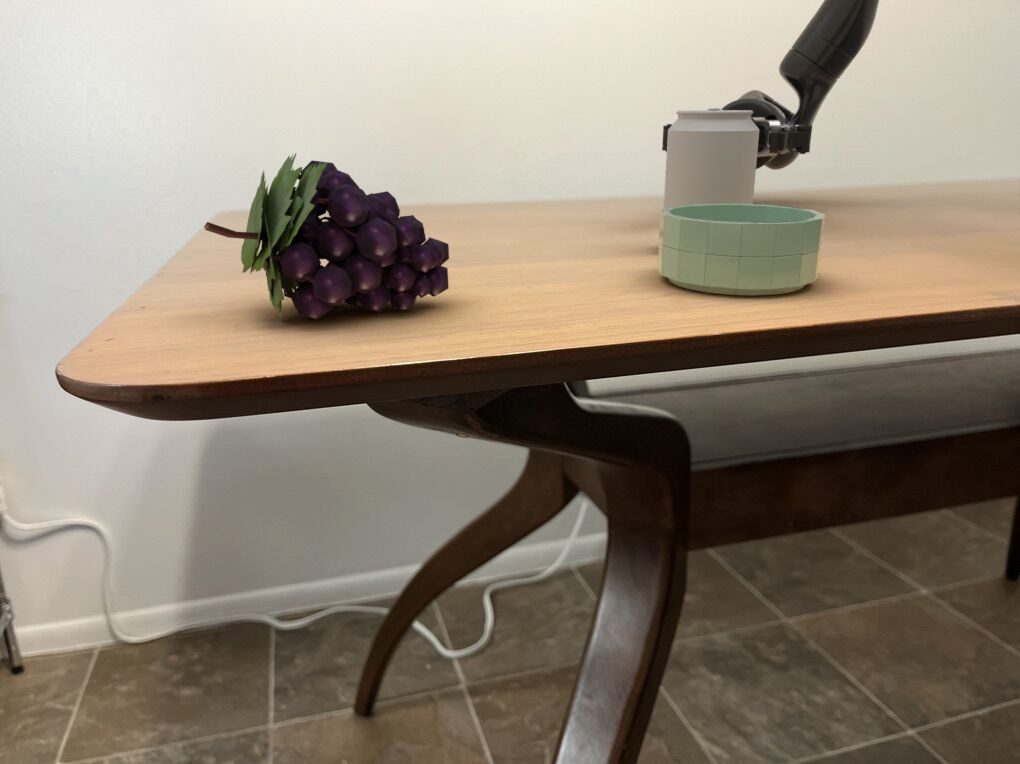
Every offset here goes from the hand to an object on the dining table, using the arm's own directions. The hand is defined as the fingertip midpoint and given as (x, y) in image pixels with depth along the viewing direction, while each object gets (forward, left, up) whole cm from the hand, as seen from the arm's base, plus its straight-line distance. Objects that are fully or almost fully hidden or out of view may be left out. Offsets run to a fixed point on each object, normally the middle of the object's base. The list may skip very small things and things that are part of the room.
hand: (726, 140), depth 76 cm
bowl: (+3, +20, -9) cm, 22 cm away
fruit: (+30, +30, -9) cm, 43 cm away
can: (+3, +7, -9) cm, 12 cm away
